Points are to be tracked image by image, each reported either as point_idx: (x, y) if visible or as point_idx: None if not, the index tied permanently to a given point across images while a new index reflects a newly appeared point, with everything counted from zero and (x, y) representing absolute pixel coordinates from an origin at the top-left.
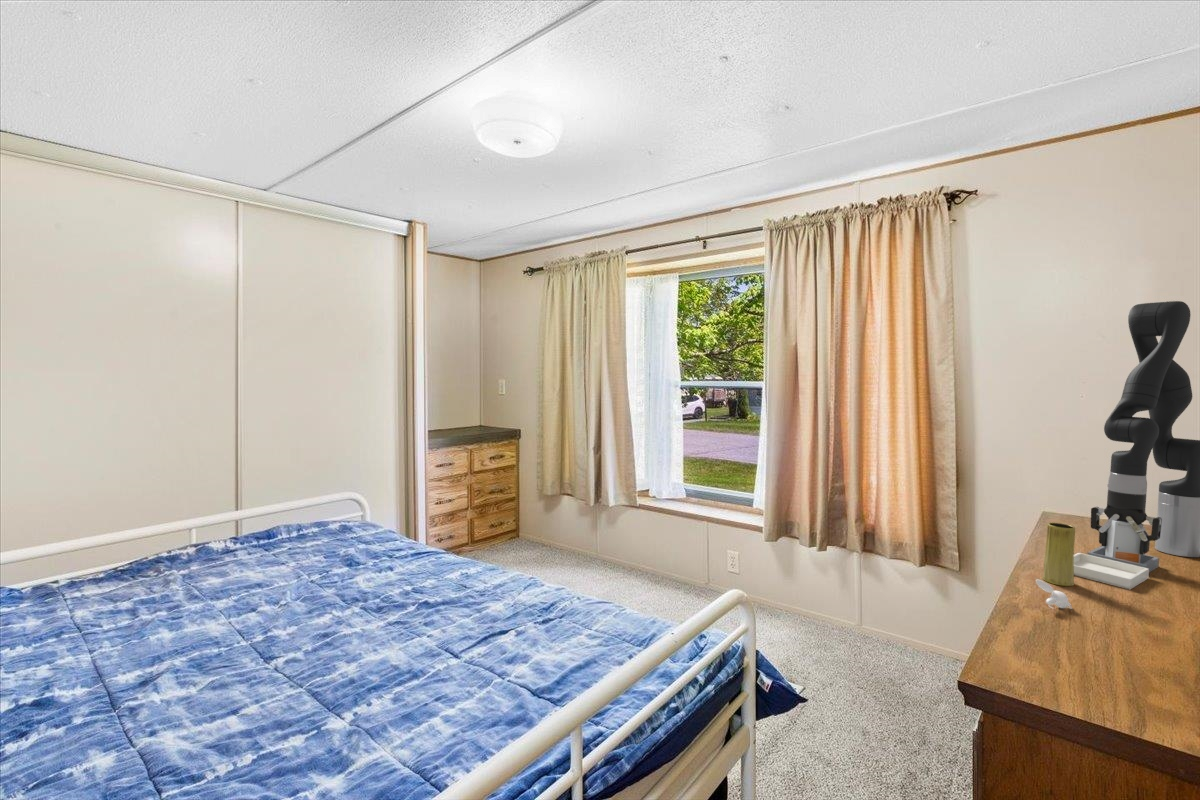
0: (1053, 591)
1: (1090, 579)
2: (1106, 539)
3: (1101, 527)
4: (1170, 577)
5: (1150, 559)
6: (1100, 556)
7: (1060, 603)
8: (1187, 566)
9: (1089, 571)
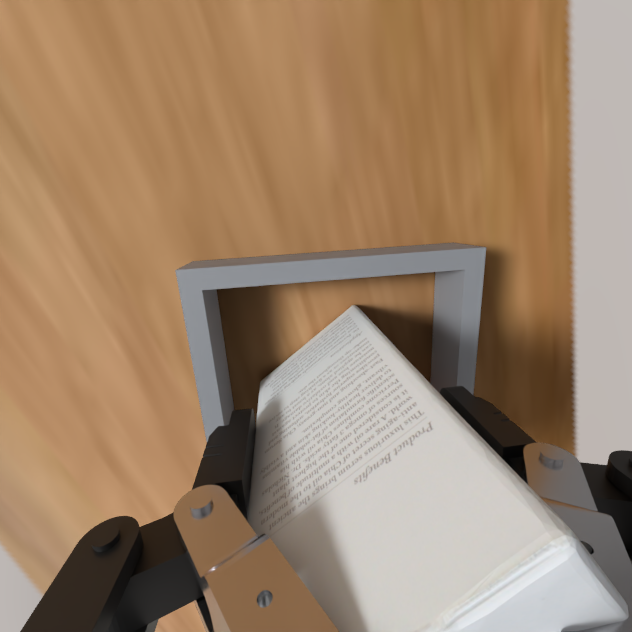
0: None
1: None
2: (253, 469)
3: (207, 620)
4: (514, 387)
5: (460, 349)
6: None
7: None
8: (557, 48)
9: None
